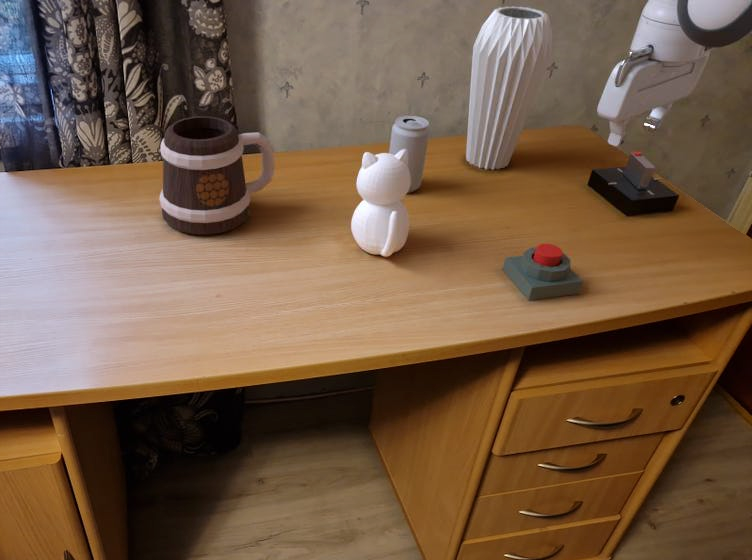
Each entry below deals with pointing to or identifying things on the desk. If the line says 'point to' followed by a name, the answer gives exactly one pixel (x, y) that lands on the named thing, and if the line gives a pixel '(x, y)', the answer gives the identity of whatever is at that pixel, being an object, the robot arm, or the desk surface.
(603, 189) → the block
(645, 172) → the tap handle
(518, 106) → the vase
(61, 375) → the desk surface
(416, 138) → the beverage can
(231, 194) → the mug
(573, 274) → the button block
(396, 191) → the cat figurine
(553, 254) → the button
